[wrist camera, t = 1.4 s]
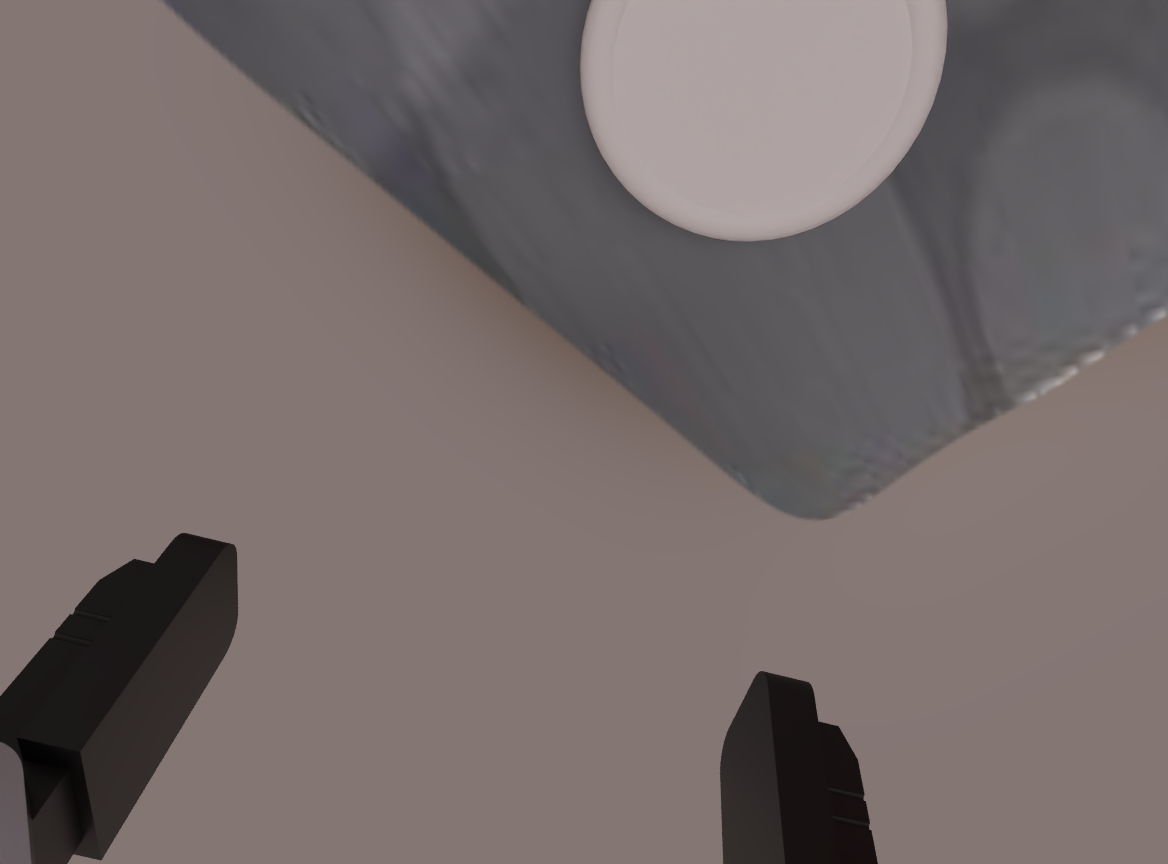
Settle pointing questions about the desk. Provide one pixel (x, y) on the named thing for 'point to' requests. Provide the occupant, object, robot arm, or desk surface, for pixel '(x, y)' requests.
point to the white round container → (758, 104)
